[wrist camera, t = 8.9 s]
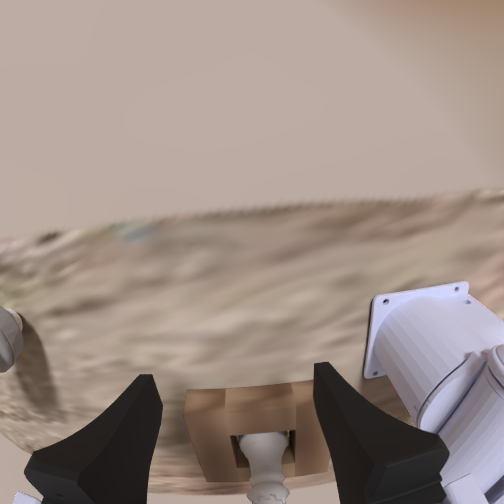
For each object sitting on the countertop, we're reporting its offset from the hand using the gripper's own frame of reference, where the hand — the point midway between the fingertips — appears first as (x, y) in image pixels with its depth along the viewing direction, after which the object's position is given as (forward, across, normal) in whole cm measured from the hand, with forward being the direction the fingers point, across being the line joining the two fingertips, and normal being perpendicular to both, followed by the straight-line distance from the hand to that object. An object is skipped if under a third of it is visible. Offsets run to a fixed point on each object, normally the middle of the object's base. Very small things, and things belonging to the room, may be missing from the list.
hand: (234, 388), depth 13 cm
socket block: (+9, -1, +14) cm, 17 cm away
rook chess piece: (+9, -1, +14) cm, 16 cm away
